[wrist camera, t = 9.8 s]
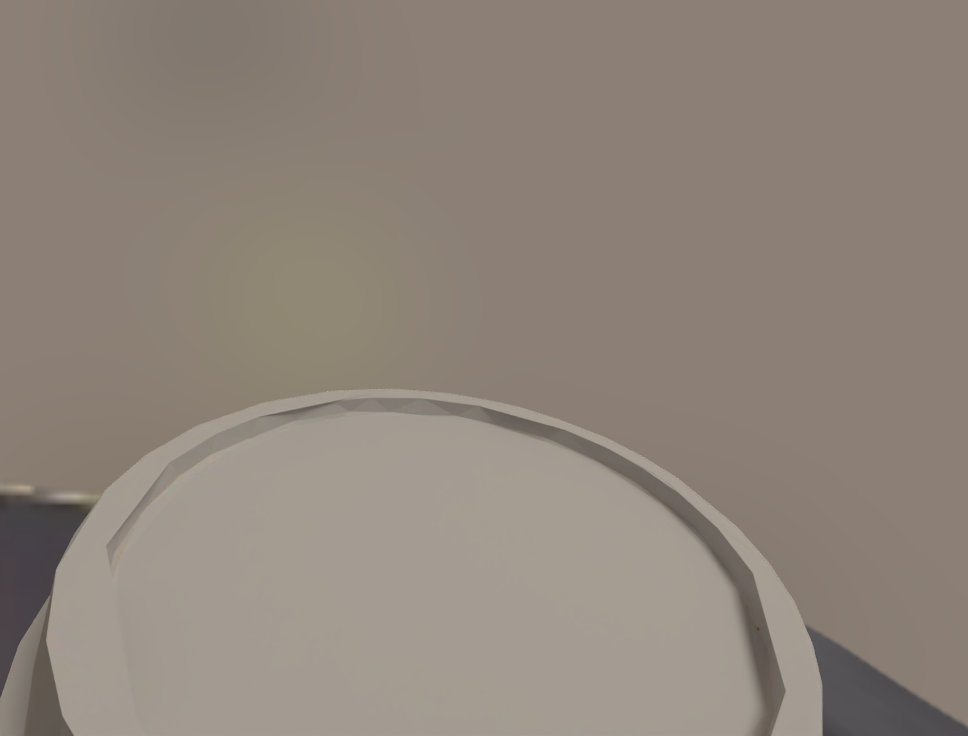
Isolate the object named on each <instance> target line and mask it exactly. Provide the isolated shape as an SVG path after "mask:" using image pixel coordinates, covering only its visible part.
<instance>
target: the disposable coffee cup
mask: <svg viewBox="0 0 968 736" xmlns="http://www.w3.org/2000/svg"><path fill="white" fill-rule="evenodd" d="M0 736H822V682H821V678H820V673H819V669H818V665H817V661H816V656H815V652H814V648H813V644H812V642H811V640H810V637H809V635H808V633H807V630H806V628H805V625H804V623H803V621H802V618H801V616H800V614H799V612H798V609H797V607H796V604H795V602H794V601H793V599H792V598H791V596H790V594H789V593H788V591H787V590H786V588H785V587H784V585H783V584H782V582H781V580H780V579H779V577H778V576H777V575H776V573H775V571H774V570H773V569H772V567H771V565H770V564H769V563H768V562H767V560H766V559H765V558H764V557H763V556H762V555H761V554H760V552H759V551H758V550H757V549H756V548H755V547H754V546H753V544H752V543H751V542H750V541H749V540H748V539H747V537H746V536H745V535H744V534H743V533H742V532H741V531H740V530H739V528H738V527H737V526H735V525H734V524H733V523H732V522H730V521H729V520H728V519H727V518H726V517H724V516H723V515H722V514H721V513H720V512H718V511H717V510H716V509H715V508H713V507H712V506H711V505H710V504H709V503H707V502H706V501H705V500H704V499H703V498H701V497H700V496H699V495H698V494H697V493H695V492H694V491H693V490H692V489H690V488H689V487H688V486H687V485H686V484H684V483H683V482H682V481H681V480H679V479H678V478H677V477H675V476H673V475H672V474H670V473H669V472H667V471H665V470H664V469H662V468H661V467H659V466H657V465H656V464H654V463H652V462H651V461H649V460H647V459H646V458H644V457H642V456H640V455H638V454H637V453H635V452H633V451H631V450H629V449H627V448H625V447H623V446H621V445H619V444H617V443H615V442H613V441H611V440H609V439H607V438H605V437H603V436H600V435H598V434H595V433H593V432H590V431H587V430H585V429H582V428H580V427H577V426H574V425H572V424H569V423H566V422H564V421H561V420H558V419H556V418H553V417H549V416H546V415H543V414H540V413H536V412H534V411H531V410H527V409H524V408H521V407H517V406H513V405H508V404H504V403H499V402H494V401H490V400H484V399H479V398H473V397H467V396H461V395H455V394H449V393H440V392H427V391H415V390H401V389H373V390H343V391H329V392H323V393H317V394H311V395H305V396H299V397H293V398H287V399H282V400H276V401H270V402H265V403H262V404H259V405H256V406H253V407H250V408H247V409H244V410H241V411H238V412H235V413H232V414H229V415H227V416H224V417H221V418H218V419H215V420H212V421H209V422H206V423H203V424H200V425H198V426H196V427H194V428H192V429H190V430H189V431H187V432H185V433H184V434H182V435H180V436H178V437H177V438H175V439H173V440H171V441H170V442H168V443H166V444H164V445H163V446H161V447H159V448H158V449H156V450H154V451H152V452H151V453H149V454H147V455H145V456H144V457H143V458H142V459H141V460H140V461H138V462H137V463H136V464H135V465H134V466H132V468H130V469H129V470H128V471H127V472H126V473H124V474H123V475H122V476H121V477H120V478H119V479H117V480H116V481H115V482H114V483H113V484H112V485H110V486H109V487H108V488H107V489H106V490H105V491H104V493H103V494H102V495H101V497H100V498H99V500H98V501H97V503H96V504H95V505H94V507H93V508H92V510H91V511H90V512H89V514H88V515H87V517H86V518H85V520H84V521H83V522H82V524H81V525H80V527H79V528H78V529H77V531H76V532H75V534H74V536H73V538H72V540H71V542H70V544H69V546H68V547H67V549H66V551H65V553H64V555H63V557H62V559H61V561H60V563H59V565H58V567H57V569H56V573H55V577H54V581H53V586H52V590H51V594H50V596H49V597H48V599H47V601H46V602H45V604H44V605H43V607H42V609H41V610H40V612H39V613H38V615H37V617H36V618H35V620H34V621H33V623H32V624H31V626H30V628H29V629H28V631H27V632H26V634H25V636H24V637H23V639H22V640H21V642H20V644H19V646H18V649H17V652H16V655H15V658H14V661H13V664H12V666H11V669H10V672H9V675H8V678H7V681H6V684H5V687H4V690H3V693H2V696H1V698H0Z"/></svg>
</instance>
